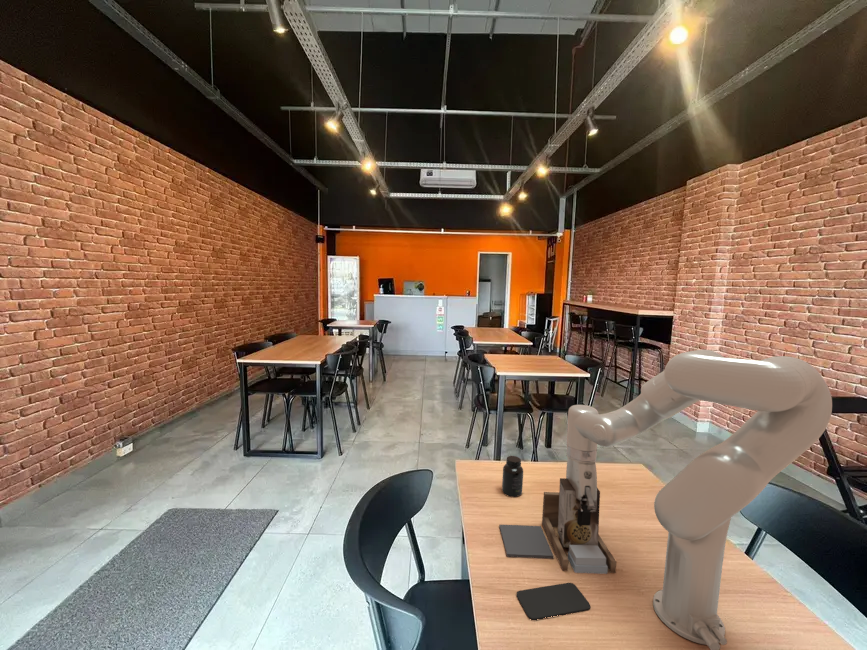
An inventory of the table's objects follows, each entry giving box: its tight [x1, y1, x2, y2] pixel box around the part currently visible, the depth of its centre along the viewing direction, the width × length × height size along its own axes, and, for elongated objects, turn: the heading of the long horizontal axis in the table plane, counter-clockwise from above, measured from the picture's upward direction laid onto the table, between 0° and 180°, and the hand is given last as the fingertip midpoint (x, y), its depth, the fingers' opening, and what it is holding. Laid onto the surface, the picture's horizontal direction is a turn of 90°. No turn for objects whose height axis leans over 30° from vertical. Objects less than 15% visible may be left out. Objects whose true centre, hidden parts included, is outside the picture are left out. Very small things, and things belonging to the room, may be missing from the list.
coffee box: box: [557, 477, 601, 548], centre depth 99 cm, size 9×6×16 cm
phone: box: [515, 582, 591, 621], centre depth 81 cm, size 7×1×15 cm
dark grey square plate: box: [498, 524, 555, 560], centre depth 100 cm, size 12×12×1 cm
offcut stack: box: [567, 545, 609, 575], centre depth 92 cm, size 5×8×4 cm, turn 90°
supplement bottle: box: [501, 455, 524, 498], centre depth 125 cm, size 7×7×12 cm
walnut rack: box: [541, 491, 617, 574], centre depth 99 cm, size 18×13×10 cm
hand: (578, 515), depth 99 cm, fingers closed on coffee box, 6 cm apart
